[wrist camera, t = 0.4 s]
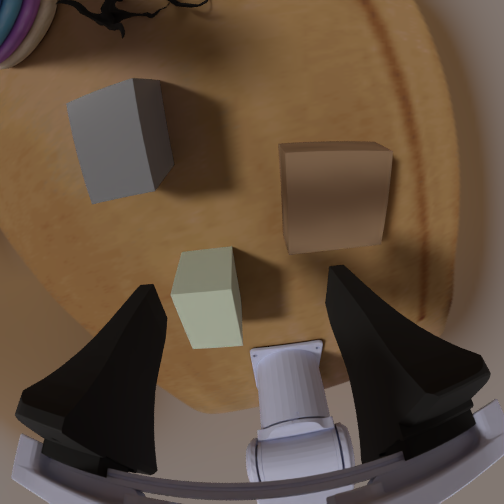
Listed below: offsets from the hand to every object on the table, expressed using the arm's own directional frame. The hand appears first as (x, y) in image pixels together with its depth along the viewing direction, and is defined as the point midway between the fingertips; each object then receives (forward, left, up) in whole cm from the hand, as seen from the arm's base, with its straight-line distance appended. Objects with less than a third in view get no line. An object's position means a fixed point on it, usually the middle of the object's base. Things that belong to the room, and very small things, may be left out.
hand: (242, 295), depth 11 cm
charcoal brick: (+6, +6, -10) cm, 13 cm away
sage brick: (-7, +3, -10) cm, 12 cm away
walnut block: (0, -6, -10) cm, 12 cm away
